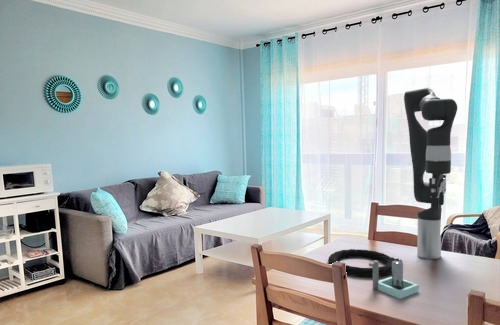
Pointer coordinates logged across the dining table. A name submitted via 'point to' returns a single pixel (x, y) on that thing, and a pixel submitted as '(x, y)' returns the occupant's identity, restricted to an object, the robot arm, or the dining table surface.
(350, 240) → the dining table surface
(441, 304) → the dining table surface
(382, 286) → the teal rectangular frame
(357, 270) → the cable lock
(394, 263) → the pin
